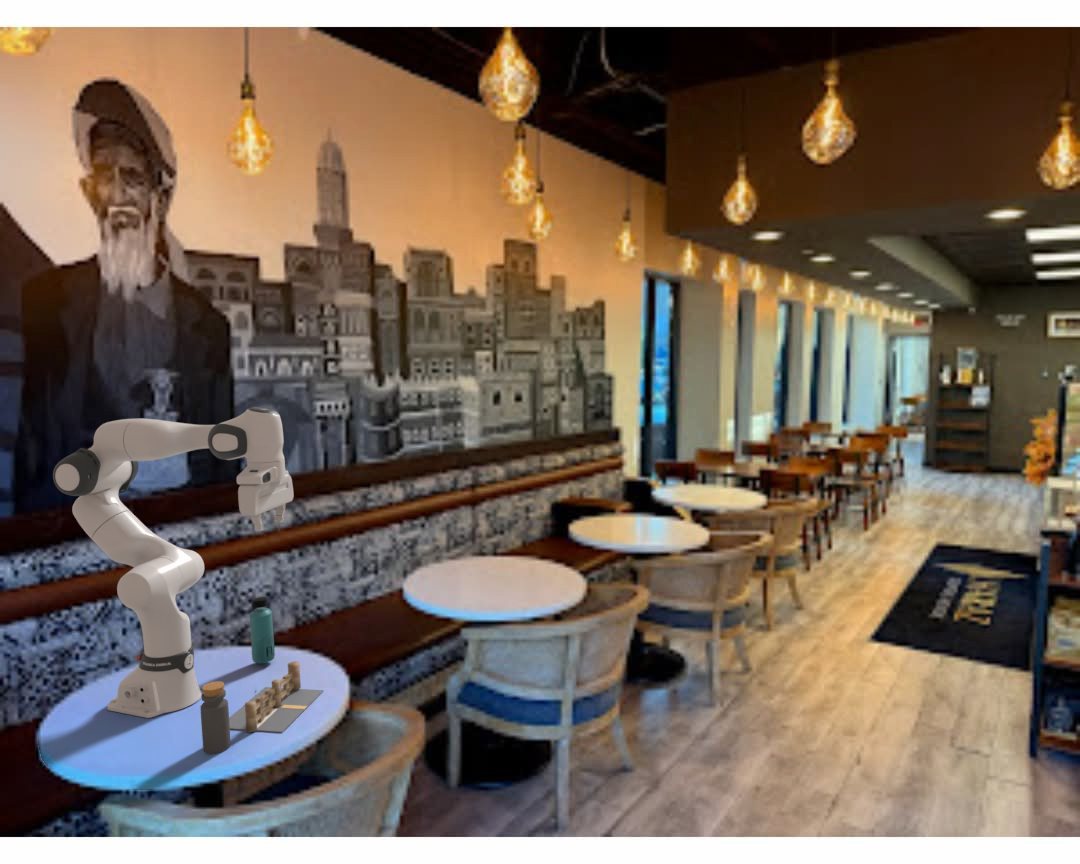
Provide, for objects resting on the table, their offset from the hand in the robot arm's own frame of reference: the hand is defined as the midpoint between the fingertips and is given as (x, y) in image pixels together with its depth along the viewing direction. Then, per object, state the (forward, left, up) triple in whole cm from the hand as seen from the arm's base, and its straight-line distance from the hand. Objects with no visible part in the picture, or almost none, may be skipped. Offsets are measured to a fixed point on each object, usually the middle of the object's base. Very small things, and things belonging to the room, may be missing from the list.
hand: (269, 526), depth 180 cm
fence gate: (-1, +6, -47) cm, 47 cm away
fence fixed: (-1, -6, -48) cm, 48 cm away
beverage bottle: (-19, +25, -48) cm, 57 cm away
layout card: (-1, -1, -48) cm, 48 cm away
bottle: (-5, -20, -48) cm, 52 cm away
